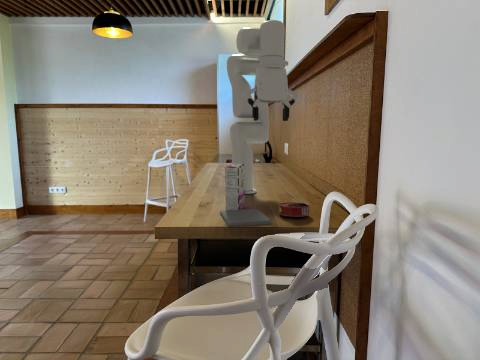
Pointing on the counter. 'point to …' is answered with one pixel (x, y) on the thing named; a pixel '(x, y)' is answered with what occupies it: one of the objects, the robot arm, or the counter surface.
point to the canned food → (294, 208)
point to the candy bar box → (235, 186)
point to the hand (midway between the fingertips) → (270, 120)
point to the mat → (244, 217)
